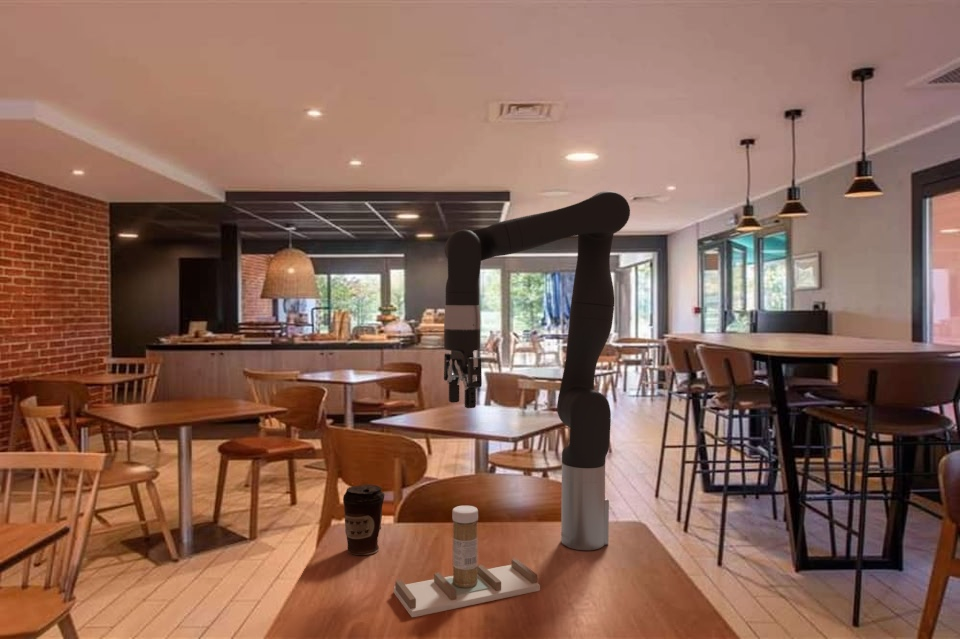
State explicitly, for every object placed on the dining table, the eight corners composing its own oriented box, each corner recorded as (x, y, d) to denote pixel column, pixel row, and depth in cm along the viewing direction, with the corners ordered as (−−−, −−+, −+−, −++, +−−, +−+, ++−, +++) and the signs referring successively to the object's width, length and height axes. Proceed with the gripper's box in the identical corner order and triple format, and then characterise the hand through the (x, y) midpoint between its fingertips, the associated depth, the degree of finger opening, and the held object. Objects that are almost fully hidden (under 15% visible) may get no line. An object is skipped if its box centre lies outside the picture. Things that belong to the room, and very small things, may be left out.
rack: (513, 569, 122) (513, 556, 122) (539, 590, 113) (539, 576, 113) (393, 592, 112) (393, 578, 112) (412, 617, 103) (412, 602, 103)
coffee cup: (374, 560, 126) (374, 495, 126) (335, 557, 128) (335, 493, 128) (389, 544, 135) (389, 483, 134) (352, 541, 136) (352, 481, 136)
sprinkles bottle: (474, 576, 116) (474, 503, 116) (480, 587, 112) (480, 511, 111) (449, 579, 115) (450, 505, 115) (454, 590, 111) (455, 513, 110)
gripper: (493, 328, 127) (493, 409, 127) (465, 326, 140) (464, 399, 140) (459, 328, 124) (458, 411, 124) (433, 326, 137) (432, 401, 137)
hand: (461, 404), depth 132 cm, fingers open, 8 cm apart
